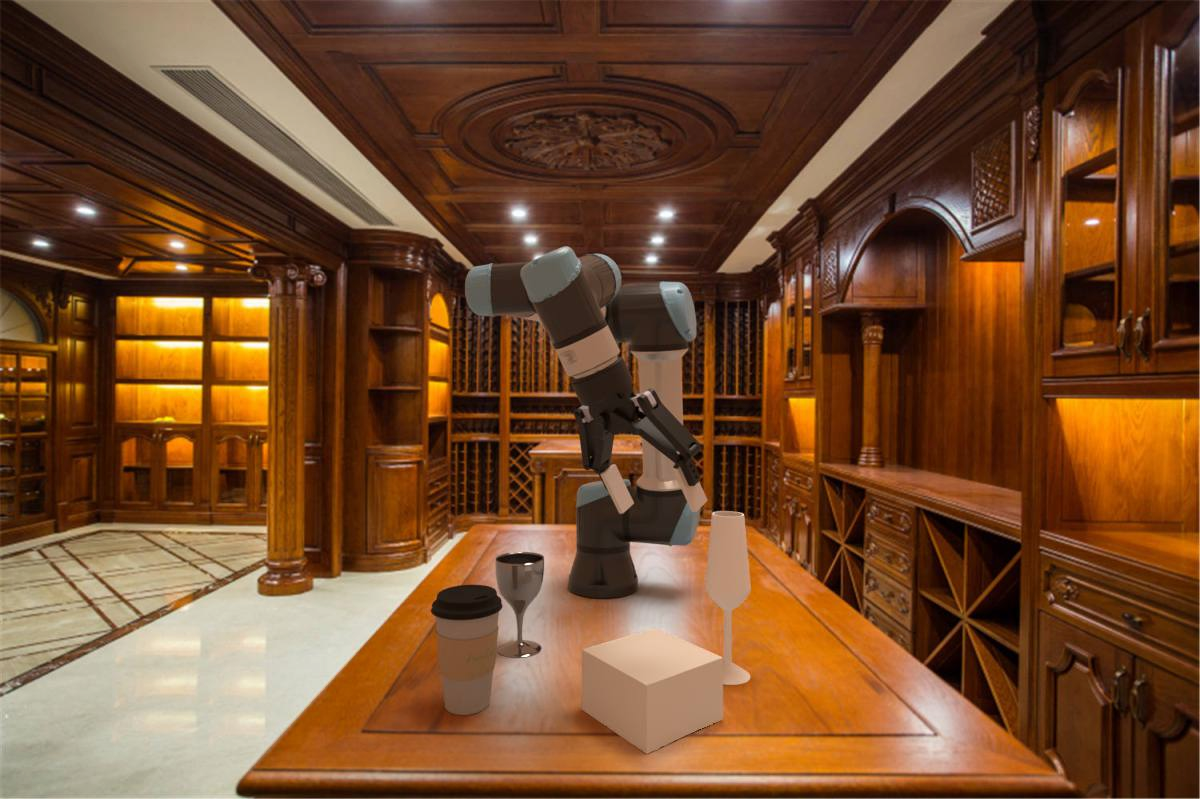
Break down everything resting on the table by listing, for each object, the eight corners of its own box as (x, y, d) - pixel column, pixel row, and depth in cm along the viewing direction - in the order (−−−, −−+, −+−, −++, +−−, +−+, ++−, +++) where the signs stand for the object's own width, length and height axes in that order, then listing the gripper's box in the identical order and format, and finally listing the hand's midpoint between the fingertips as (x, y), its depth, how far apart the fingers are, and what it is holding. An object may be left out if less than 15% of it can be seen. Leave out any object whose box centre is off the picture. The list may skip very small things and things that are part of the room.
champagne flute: (741, 689, 89) (742, 520, 89) (697, 677, 93) (698, 515, 93) (756, 671, 95) (757, 512, 95) (714, 661, 98) (715, 508, 98)
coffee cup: (486, 725, 79) (486, 606, 79) (417, 718, 81) (417, 601, 81) (512, 691, 88) (512, 584, 88) (449, 685, 90) (449, 580, 90)
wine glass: (551, 643, 106) (551, 554, 106) (531, 661, 98) (531, 566, 98) (509, 637, 108) (509, 550, 108) (486, 654, 101) (486, 561, 101)
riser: (581, 709, 83) (581, 649, 83) (654, 682, 91) (655, 627, 91) (646, 754, 73) (646, 685, 73) (723, 719, 81) (723, 657, 81)
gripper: (520, 394, 88) (584, 523, 92) (646, 359, 69) (720, 522, 73) (556, 372, 93) (616, 495, 97) (683, 334, 74) (750, 488, 78)
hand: (661, 507), depth 85 cm, fingers open, 13 cm apart
